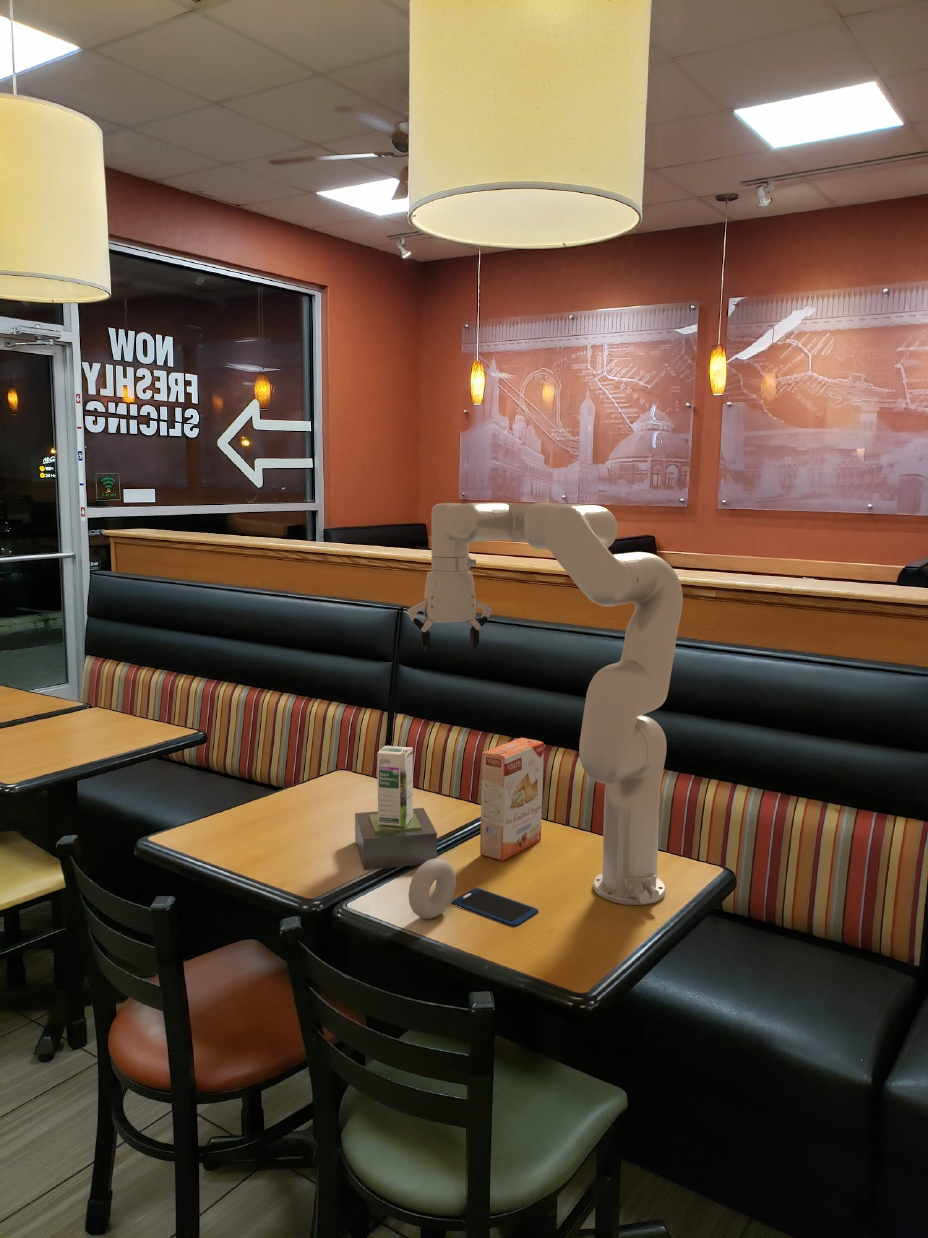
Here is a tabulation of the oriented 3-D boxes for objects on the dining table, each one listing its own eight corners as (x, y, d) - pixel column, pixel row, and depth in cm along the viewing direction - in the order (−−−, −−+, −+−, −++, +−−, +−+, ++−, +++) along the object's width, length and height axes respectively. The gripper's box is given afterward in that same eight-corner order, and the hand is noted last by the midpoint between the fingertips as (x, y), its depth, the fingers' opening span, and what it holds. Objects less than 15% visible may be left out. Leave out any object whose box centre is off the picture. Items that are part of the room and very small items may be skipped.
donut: (419, 931, 146) (419, 872, 145) (404, 924, 149) (403, 866, 147) (460, 909, 154) (460, 853, 152) (445, 903, 156) (445, 848, 155)
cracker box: (504, 863, 173) (505, 757, 170) (478, 855, 176) (479, 751, 173) (543, 840, 184) (545, 740, 181) (518, 834, 187) (520, 735, 184)
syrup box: (376, 825, 174) (376, 752, 172) (386, 814, 180) (385, 744, 178) (405, 828, 173) (404, 754, 171) (413, 817, 179) (413, 745, 177)
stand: (437, 863, 173) (437, 831, 172) (363, 870, 169) (363, 837, 168) (423, 835, 186) (423, 806, 185) (355, 841, 183) (354, 811, 182)
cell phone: (475, 891, 162) (475, 887, 162) (540, 913, 153) (540, 909, 153) (449, 905, 156) (449, 901, 156) (515, 930, 148) (515, 925, 147)
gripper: (487, 563, 187) (486, 644, 189) (404, 564, 183) (405, 648, 185) (496, 566, 180) (496, 651, 182) (410, 567, 176) (411, 654, 178)
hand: (450, 649), depth 184 cm, fingers open, 9 cm apart
